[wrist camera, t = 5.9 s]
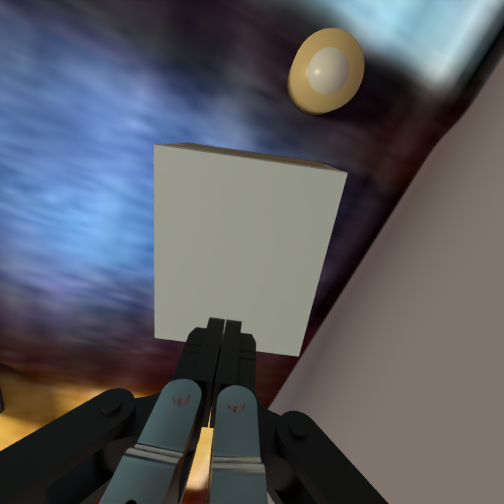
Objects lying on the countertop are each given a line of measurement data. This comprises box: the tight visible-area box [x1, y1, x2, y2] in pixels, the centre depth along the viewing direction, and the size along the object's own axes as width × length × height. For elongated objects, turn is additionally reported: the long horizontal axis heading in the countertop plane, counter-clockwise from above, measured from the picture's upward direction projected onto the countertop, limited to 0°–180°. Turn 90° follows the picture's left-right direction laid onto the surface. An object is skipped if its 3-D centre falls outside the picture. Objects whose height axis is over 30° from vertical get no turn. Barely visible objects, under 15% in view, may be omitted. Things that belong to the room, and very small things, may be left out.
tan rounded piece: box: [287, 28, 364, 116], centre depth 24 cm, size 6×6×5 cm
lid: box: [154, 144, 347, 356], centre depth 25 cm, size 18×14×1 cm
